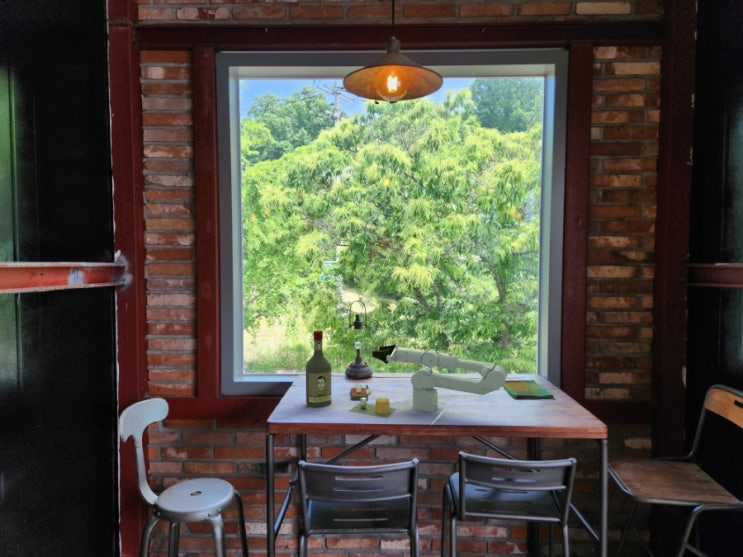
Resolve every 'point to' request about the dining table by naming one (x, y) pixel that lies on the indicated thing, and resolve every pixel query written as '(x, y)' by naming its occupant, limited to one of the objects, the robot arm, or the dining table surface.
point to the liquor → (318, 376)
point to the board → (371, 411)
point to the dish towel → (526, 390)
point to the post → (363, 403)
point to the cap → (382, 406)
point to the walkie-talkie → (360, 392)
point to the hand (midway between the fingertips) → (376, 351)
